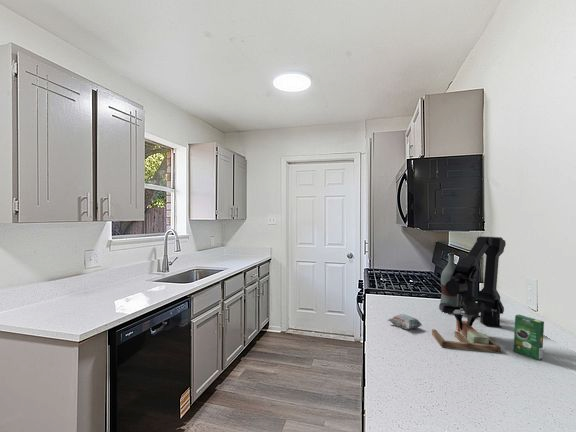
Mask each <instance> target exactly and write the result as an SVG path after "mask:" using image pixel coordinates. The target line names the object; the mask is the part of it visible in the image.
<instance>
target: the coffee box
mask: <svg viewBox="0 0 576 432" xmlns="http://www.w3.org/2000/svg"><path fill="white" fill-rule="evenodd" d="M514 317H515V318H514V333H513V334H514V335H513V336H514V337H513V338H514V339H513V352H515V353H518V354H521V355H524V356H527V357H528V358H531V359H533V360H537V361H541V360H542V359H543V353H544V352H543V351H544V349H543V348H544V334H545V333H544V332H545V331H544V330H545V329H544V328H545V321H544V320H543V321H542V320H540V319H536V318H532V317H530V316H529V317H528V316H525V315H521V314H516V315H515V316H514Z"/></svg>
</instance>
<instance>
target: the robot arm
mask: <svg viewBox="0 0 576 432" xmlns="http://www.w3.org/2000/svg"><path fill="white" fill-rule="evenodd" d="M506 245H507V244H506V240H505V239H503V237H498V236H483V235H481V236H477V238H476V241H475V242H474V244H473V246H472V247H471V249H470V251H469V252H468V253H467V255H466V256H464V257H462V258H460V259H459V260H458V261H456V264H454V265H455V267H454V270H453V272H452V275H451V278H450V281H448V282H447V283H446V285H445V288H446V291H447V292H448V293H449V294H451V295H457V296H458V303H457V306H452V305H451V304H450V303H440V302H439V306H438V310H440V312H442V313H443V312H444V314H446V313H452V314H454V315H453V316H454V317H455V321H456V320H457V322H458V325H459V328H460V330H462V321H463V314H462V312H463V313H464V314H465V315H467V318H466V321H467V323H468V324H469V325H470V326H471V327H473V324H474V322H475V321H476V320H477V319H478V318H480V321H479V322H480V323H481V324H483V325H484V326H485V327H494V328H502V325H501V324H500V322H501V315H504V312H505V307H504V305H503V303H502V301H501V295H500V293H499V292H498V290H497V286H498V285H497V284H498V274H499V259H500V256H501V255H502V254H503V253H504V251H505V248H506ZM484 255H485V265H484V267H485V268H484V278H483V279H484V280H483V287H482V289H481V290H478V293H477V299H476V297H475V296H474V293H475V292H474V291H475V282H476V281H477V279H476V278H475V277H476V276H477V275H478V272H479V269H480V268H479V263H480V261H481V259H482V258H483V256H484Z"/></svg>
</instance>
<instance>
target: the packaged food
mask: <svg viewBox="0 0 576 432" xmlns="http://www.w3.org/2000/svg"><path fill="white" fill-rule="evenodd" d="M386 321H387V322H390V323H391V324H392V325H395V326H397V327H400V328H402V329H405V330H412V329H413V330H414V329H418V328H419V327H422V326H423V324H422V323H421V322H420V321H419V319H418V318H415V317H412V316H409V315H407V314H402V313H399V314H396V315H394V316H392V317H390V318H388V319H386Z"/></svg>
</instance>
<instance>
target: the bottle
mask: <svg viewBox="0 0 576 432" xmlns="http://www.w3.org/2000/svg"><path fill="white" fill-rule="evenodd" d="M455 265H456V264H455V253H453V252H449V253H448V261H447V265H446V266H445V267H444V268H443V270H442V272H441V274H440V288H441V295H440V300H439V301H440V302H439V304H440V303H450V304H451V305H452V306H457V303H458V296H457V295H451V294H449V293H448V292H447V291H446V288H445V285H446V283H447V282H448V281H450V278H451V275H452V272H453V270H454V267H455ZM451 314H452V313H448V314H447V315H451Z"/></svg>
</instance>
